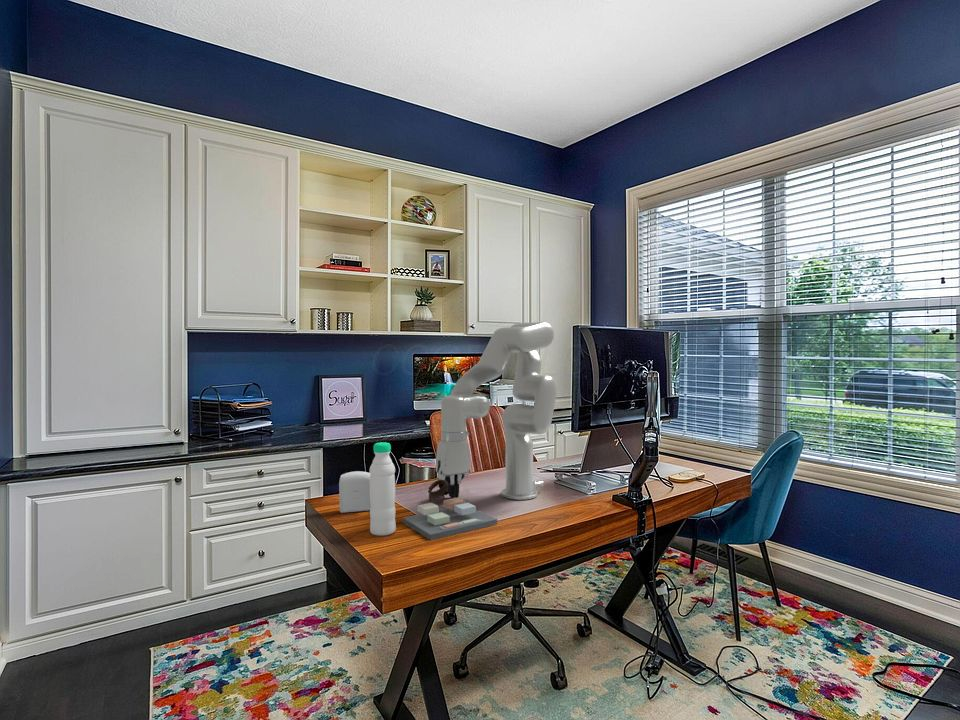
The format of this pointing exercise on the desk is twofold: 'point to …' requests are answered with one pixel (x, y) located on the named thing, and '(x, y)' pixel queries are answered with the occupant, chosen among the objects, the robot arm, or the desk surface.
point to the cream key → (427, 508)
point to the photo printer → (354, 492)
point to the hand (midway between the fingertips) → (453, 496)
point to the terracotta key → (452, 503)
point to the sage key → (438, 518)
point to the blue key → (464, 508)
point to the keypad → (453, 527)
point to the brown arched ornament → (439, 493)
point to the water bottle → (382, 491)
